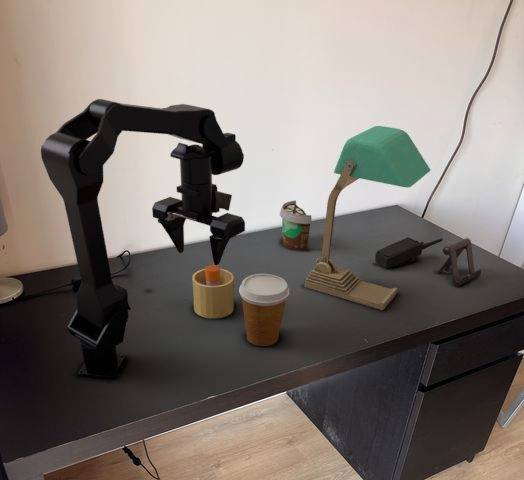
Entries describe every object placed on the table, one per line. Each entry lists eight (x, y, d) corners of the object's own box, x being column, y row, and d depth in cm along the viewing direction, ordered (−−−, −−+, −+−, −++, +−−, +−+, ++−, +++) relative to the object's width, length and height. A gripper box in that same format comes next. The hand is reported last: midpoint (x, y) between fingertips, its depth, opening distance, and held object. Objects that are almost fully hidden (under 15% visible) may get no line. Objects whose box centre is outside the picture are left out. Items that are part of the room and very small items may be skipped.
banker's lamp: (326, 267, 132) (343, 118, 112) (406, 290, 124) (440, 133, 104) (297, 292, 121) (310, 132, 101) (383, 319, 113) (415, 149, 92)
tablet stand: (459, 287, 126) (468, 255, 121) (431, 275, 131) (439, 244, 126) (479, 277, 130) (489, 246, 126) (452, 266, 135) (460, 235, 130)
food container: (272, 236, 147) (273, 201, 142) (292, 234, 149) (295, 199, 143) (287, 254, 138) (289, 217, 132) (308, 252, 139) (312, 215, 134)
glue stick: (219, 309, 113) (218, 271, 107) (205, 308, 113) (204, 270, 108) (221, 302, 115) (221, 265, 110) (208, 301, 115) (207, 264, 110)
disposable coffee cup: (259, 319, 111) (260, 268, 104) (295, 336, 106) (299, 283, 99) (228, 338, 105) (228, 284, 98) (265, 357, 100) (268, 302, 93)
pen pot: (230, 320, 110) (230, 288, 106) (189, 316, 111) (188, 285, 107) (236, 300, 117) (236, 269, 113) (198, 296, 118) (197, 266, 114)
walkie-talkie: (369, 253, 135) (426, 232, 143) (379, 275, 135) (435, 253, 142) (382, 244, 129) (440, 222, 137) (393, 267, 129) (450, 244, 137)
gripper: (262, 180, 99) (259, 257, 107) (186, 162, 107) (188, 235, 116) (227, 195, 91) (226, 276, 100) (147, 174, 99) (153, 251, 108)
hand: (198, 258), depth 106 cm, fingers open, 9 cm apart
